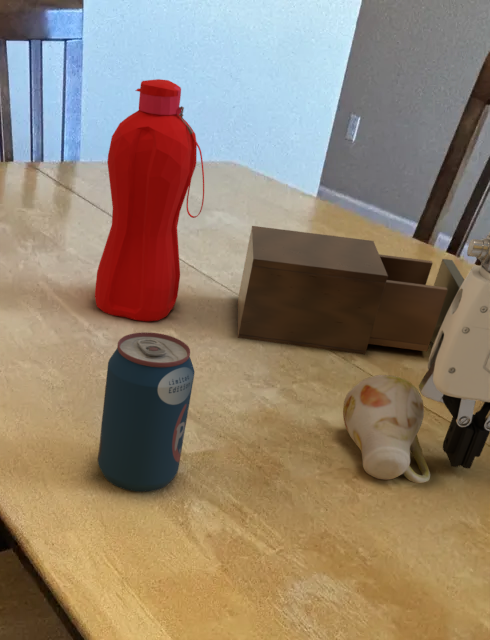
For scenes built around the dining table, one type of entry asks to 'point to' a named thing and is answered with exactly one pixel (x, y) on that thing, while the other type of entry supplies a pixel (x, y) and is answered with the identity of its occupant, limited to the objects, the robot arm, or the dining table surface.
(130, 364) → the soda can
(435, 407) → the dining table surface
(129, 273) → the water bottle
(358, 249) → the cabinet
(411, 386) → the mug
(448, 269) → the drawer
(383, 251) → the dining table surface
